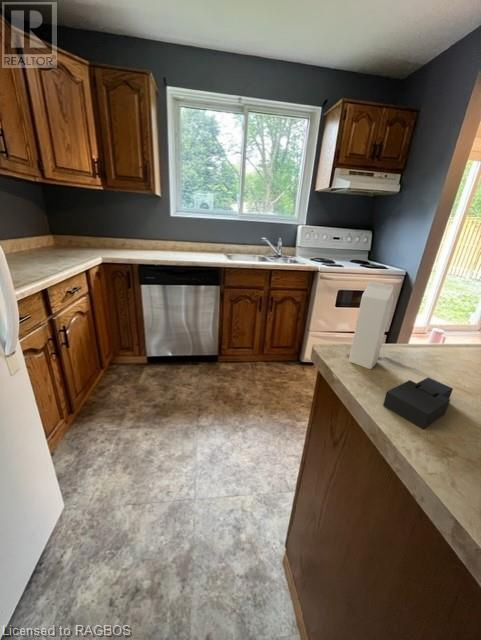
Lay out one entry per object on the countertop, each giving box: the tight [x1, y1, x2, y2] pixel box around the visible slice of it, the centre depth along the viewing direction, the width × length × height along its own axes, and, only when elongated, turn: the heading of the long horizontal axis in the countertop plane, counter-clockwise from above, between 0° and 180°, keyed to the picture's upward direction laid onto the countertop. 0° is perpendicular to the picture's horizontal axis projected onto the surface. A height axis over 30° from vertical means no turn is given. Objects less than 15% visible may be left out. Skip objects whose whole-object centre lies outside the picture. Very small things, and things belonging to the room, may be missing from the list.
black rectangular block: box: [416, 376, 454, 399], centre depth 59 cm, size 7×5×4 cm
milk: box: [348, 281, 394, 370], centre depth 71 cm, size 6×6×22 cm
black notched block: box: [382, 379, 451, 430], centre depth 55 cm, size 9×8×4 cm
